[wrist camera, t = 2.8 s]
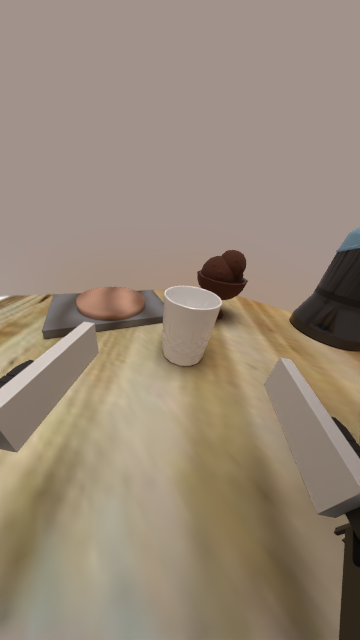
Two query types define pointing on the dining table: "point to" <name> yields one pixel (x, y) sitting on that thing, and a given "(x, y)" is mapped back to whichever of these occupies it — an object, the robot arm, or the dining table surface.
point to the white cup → (188, 323)
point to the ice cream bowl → (224, 275)
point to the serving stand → (102, 310)
